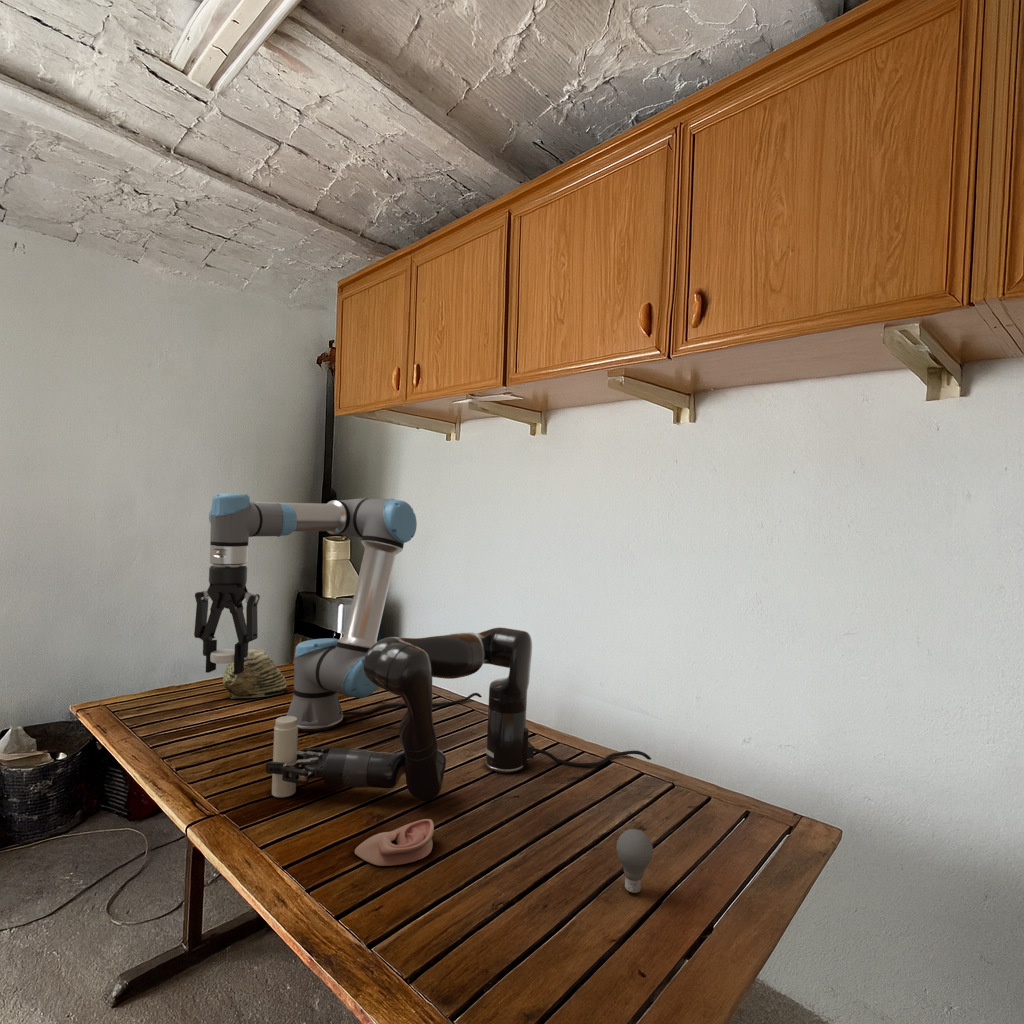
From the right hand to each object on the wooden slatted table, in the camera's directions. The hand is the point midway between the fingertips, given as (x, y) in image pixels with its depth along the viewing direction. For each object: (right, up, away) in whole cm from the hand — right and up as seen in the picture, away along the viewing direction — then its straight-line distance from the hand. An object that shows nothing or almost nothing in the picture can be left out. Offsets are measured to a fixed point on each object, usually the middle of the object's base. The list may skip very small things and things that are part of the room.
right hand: (272, 762), depth 135 cm
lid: (-11, +23, +2) cm, 25 cm away
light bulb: (+71, -10, -30) cm, 78 cm away
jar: (+2, -6, 0) cm, 7 cm away
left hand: (-11, +19, +2) cm, 22 cm away
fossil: (-29, -4, +63) cm, 69 cm away
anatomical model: (+30, -8, -20) cm, 37 cm away
